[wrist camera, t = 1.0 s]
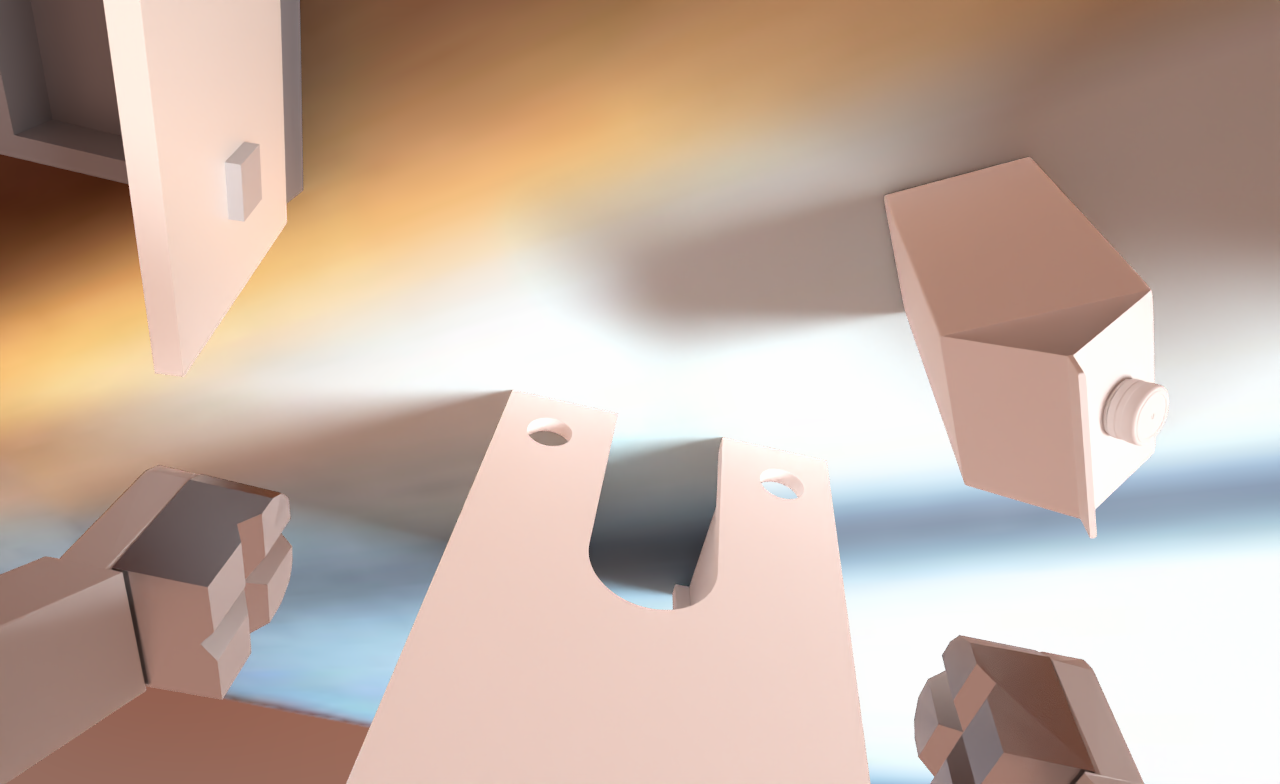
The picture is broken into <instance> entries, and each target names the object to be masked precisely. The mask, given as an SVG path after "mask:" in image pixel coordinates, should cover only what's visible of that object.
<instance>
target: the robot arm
mask: <svg viewBox="0 0 1280 784" xmlns="http://www.w3.org/2000/svg"><path fill="white" fill-rule="evenodd" d="M290 519H291V517H290V507H289V498H288V497H287V496H285V495H284V494H282V493H279V492H275V491H271V490H267V489H262V488H258V487H254V486H250V485H245V484H241V483H237V482H233V481H228V480H224V479H220V478H216V477H211V476H207V475H203V474H200V475H199V474H195V473H190V472H186V471H182V470H178V469H174V468H170V467H165V466H161V465H158V466H156V467H153V468H151V469H148V470H146V471H145V472H144V473H143V474H142V475H141V476H140V477H139V478H138V479H137V480H136V481H135V482H134V483H133V484H132V485H131V486H130V487H129V488H128V489H127V490H126V491H125V492H124V493H123V494H122V495H121V496H120V497H119V498H118V499H117V500H116V501H115V502H114V503H113V504H112V505H111V506H110V507H109V508H108V509H107V511H106V512H105V513H104V514H103V515H102V516H101V517H100V518H99V519H98V520H97V521H96V522H95V523H94V524H93V525H92V526H91V527H90V528H89V529H88V530H87V531H86V532H85V533H84V534H83V535H82V536H81V537H80V538H79V539H78V540H77V541H76V542H75V543H74V544H73V545H72V546H71V547H70V548H69V549H68V550H67V551H66V552H65V554H64V555H63V556H62V557H61V558H60V559H58V558H52V557H47V556H46V557H43V558H41V559H38V560H36V561H33V562H31V563H28V564H26V565H23V566H21V567H18V568H16V569H13V570H11V571H8V572H6V573H3V574H1V575H0V784H6V783H7V782H9V781H11V780H12V779H14V778H15V777H17V776H18V775H19V774H21V773H23V772H24V771H26V770H27V769H29V768H30V767H32V766H33V765H35V764H36V763H38V762H39V761H41V760H42V759H44V758H45V757H47V756H48V755H50V754H51V753H53V752H54V751H56V750H57V749H59V748H60V747H62V746H63V745H65V744H66V743H68V742H69V741H71V740H73V739H74V738H76V737H77V736H79V735H80V734H82V733H83V732H84V731H86V730H87V729H89V728H91V727H92V726H94V725H95V724H97V723H98V722H100V721H101V720H103V719H104V718H106V717H107V716H109V715H110V714H112V713H113V712H115V711H116V710H118V709H119V708H121V707H122V706H124V705H125V704H126V703H128V702H130V701H131V700H133V699H134V698H136V697H137V696H139V695H140V694H142V693H143V692H145V691H146V686H148V687H153V688H159V689H165V690H170V691H176V692H182V693H187V694H193V695H199V696H204V697H210V698H216V699H221V700H222V699H223V697H224V696H225V694H226V693H227V691H228V689H229V688H230V686H231V685H232V683H233V681H234V680H235V678H236V676H237V675H238V673H239V672H240V670H241V668H242V667H243V665H244V664H245V662H246V660H247V659H248V657H249V655H250V654H251V642H250V633H251V632H253V631H255V630H257V629H259V628H260V627H262V626H264V625H266V624H268V623H270V621H271V619H272V618H273V616H274V614H275V613H276V611H277V609H278V607H279V606H280V604H281V602H282V599H283V596H284V594H285V591H286V588H287V585H288V583H289V580H290V574H291V567H292V546H291V544H290V543H289V542H288V541H287V539H286V538H285V537H284V536H283V535H282V533H281V532H282V531H283V529H284V528H285V526H286V525H287V523H288V522H289V520H290ZM942 657H943V661H944V665H945V669H946V671H944V672H942V673H940V674H938V675H936V676H934V677H932V678H930V679H928V680H927V682H926V684H925V686H924V688H923V690H922V692H921V694H920V696H919V697H918V702H917V708H916V713H915V718H914V727H915V741H916V747H917V752H918V757H919V758H920V759H921V761H922V762H923V763H924V764H925V766H926V767H927V768H928V769H929V770H930V772H931V773H932V774H933V775H934V779H933V780H932V782H931V783H930V784H1144V782H1143V780H1142V778H1141V775H1140V773H1139V771H1138V769H1137V767H1136V764H1135V762H1134V760H1133V758H1132V755H1131V753H1130V751H1129V749H1128V747H1127V744H1126V742H1125V740H1124V738H1123V735H1122V733H1121V731H1120V729H1119V727H1118V724H1117V722H1116V720H1115V718H1114V715H1113V713H1112V711H1111V709H1110V707H1109V704H1108V702H1107V700H1106V698H1105V695H1104V693H1103V691H1102V689H1101V687H1100V684H1099V682H1098V680H1097V678H1096V675H1095V673H1094V671H1093V669H1092V668H1091V667H1090V666H1089V665H1088V664H1087V663H1086V662H1085V661H1084V660H1082V659H1077V658H1072V657H1067V656H1061V655H1056V654H1051V653H1046V652H1038V651H1035V650H1031V649H1026V648H1021V647H1016V646H1011V645H1006V644H1001V643H996V642H991V641H986V640H981V639H976V638H971V637H966V636H961V635H959V636H958V637H956V638H955V639H953V640H952V641H950V643H949V645H948V646H947V648H946V650H945V651H944V653H943V655H942Z"/></svg>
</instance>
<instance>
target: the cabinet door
mask: <svg viewBox="0 0 1280 784" xmlns="http://www.w3.org/2000/svg"><path fill="white" fill-rule="evenodd" d="M103 3H104V10H105V17H106V24H107V31H108V39H109V46H110V53H111V60H112V67H113V75H114V82H115V89H116V96H117V103H118V111H119V118H120V125H121V132H122V139H123V147H124V154H125V161H126V168H127V175H128V183H129V190H130V197H131V204H132V211H133V219H134V226H135V233H136V240H137V247H138V255H139V262H140V269H141V276H142V283H143V291H144V298H145V305H146V312H147V319H148V327H149V334H150V341H151V348H152V355H153V363H154V370H155V373H157V374H165V375H173V376H181V377H184V376H185V374H186V373H187V371H188V370H189V368H190V367H191V365H192V364H193V362H194V361H195V359H196V358H197V357H198V355H199V354H200V352H201V351H202V349H203V348H204V346H205V345H206V343H207V342H208V340H209V339H210V337H211V336H212V334H213V333H214V331H215V330H216V328H217V327H218V325H219V324H220V322H221V321H222V319H223V318H224V316H225V315H226V313H227V312H228V310H229V309H230V307H231V306H232V304H233V303H234V301H235V300H236V298H237V297H238V295H239V294H240V292H241V291H242V289H243V288H244V286H245V285H246V283H247V282H248V280H249V279H250V277H251V276H252V274H253V273H254V271H255V270H256V268H257V267H258V265H259V264H260V262H261V261H262V259H263V258H264V256H265V255H266V253H267V252H268V250H269V249H270V247H271V246H272V244H273V243H274V241H275V240H276V238H277V237H278V235H279V234H280V232H281V231H282V229H283V228H284V226H285V225H286V223H287V207H286V174H285V141H284V107H283V74H282V41H281V8H280V0H103Z"/></svg>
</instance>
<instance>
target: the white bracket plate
mask: <svg viewBox="0 0 1280 784" xmlns="http://www.w3.org/2000/svg"><path fill="white" fill-rule="evenodd" d="M617 416H618V413H614V412H610V411H605V410H601V409H596V408H592V407H587V406H583V405H578V404H574V403H570V402H565V401H561V400H556V399H552V398H547V397H543V396H538V395H534V394H530V393H525V392H521V391H516V390H512V393H511V395H510V397H509V400H508V402H507V404H506V407H505V409H504V412H503V414H502V416H501V419H500V421H499V423H498V426H497V428H496V430H495V433H494V435H493V438H492V440H491V442H490V445H489V447H488V449H487V452H486V454H485V456H484V459H483V461H482V464H481V466H480V468H479V471H478V473H477V475H476V478H475V480H474V482H473V485H472V487H471V490H470V492H469V494H468V497H467V499H466V501H465V504H464V506H463V509H462V511H461V513H460V516H459V518H458V520H457V523H456V525H455V527H454V530H453V532H452V535H451V537H450V539H449V542H448V544H447V546H446V549H445V551H444V553H443V556H442V558H441V561H440V563H439V565H438V568H437V570H436V572H435V575H434V577H433V579H432V582H431V584H430V587H429V589H428V591H427V594H426V596H425V598H424V601H423V603H422V606H421V608H420V610H419V613H418V615H417V617H416V620H415V622H414V624H413V627H412V629H411V632H410V634H409V636H408V639H407V641H406V643H405V646H404V648H403V650H402V653H401V655H400V658H399V660H398V662H397V665H396V667H395V669H394V672H393V674H392V676H391V679H390V681H389V684H388V686H387V688H386V691H385V693H384V695H383V698H382V700H381V703H380V705H379V707H378V710H377V712H376V714H375V717H374V719H373V721H372V724H371V726H370V729H369V731H368V733H367V736H366V738H365V741H364V743H363V745H362V748H361V750H360V752H359V755H358V757H357V759H356V762H355V764H354V767H353V769H352V771H351V773H350V776H349V778H348V781H347V783H346V784H870V777H869V770H868V762H867V755H866V748H865V740H864V733H863V725H862V718H861V711H860V703H859V696H858V688H857V681H856V674H855V666H854V659H853V651H852V644H851V637H850V629H849V622H848V614H847V607H846V600H845V592H844V585H843V578H842V570H841V563H840V555H839V548H838V541H837V533H836V526H835V518H834V511H833V504H832V496H831V489H830V481H829V474H828V467H827V460H823V459H818V458H814V457H809V456H805V455H801V454H796V453H792V452H787V451H783V450H778V449H774V448H769V447H765V446H761V445H756V444H752V443H747V442H743V441H738V440H734V439H729V438H725V437H722V441H721V444H720V447H719V453H718V478H717V502H716V509H715V512H714V514H713V517H712V520H711V523H710V526H709V529H708V532H707V535H706V538H705V541H704V544H703V547H702V550H701V553H700V556H699V559H698V562H697V565H696V568H695V571H694V574H693V577H692V580H691V583H690V586H689V587H688V586H683V585H678V584H675V587H674V590H673V593H672V595H673V610H657V609H650V608H646V607H642V606H639V605H636V604H633V603H631V602H628V601H626V600H624V599H623V598H621V597H619V596H617V595H616V594H614V593H613V592H612V591H611V590H609V589H608V588H607V587H606V586H605V585H604V584H603V583H602V582H601V581H600V579H599V578H598V577H597V575H596V574H595V572H594V570H593V568H592V566H591V563H590V559H589V543H590V538H591V534H592V529H593V525H594V520H595V516H596V511H597V507H598V502H599V497H600V493H601V488H602V484H603V479H604V475H605V470H606V466H607V461H608V457H609V452H610V447H611V443H612V438H613V434H614V429H615V425H616V420H617ZM539 431H550V432H554V433H557V434H559V435H561V436H563V437H564V438H565V439H566V440H567V441H568V442H567V443H566V444H563V445H559V446H547V445H543V444H540V443H538V442H536V441H534V440H533V439H532V438H531V437H530V436H529V435H530V434H532V433H534V432H539ZM769 481H772V482H777V483H781V484H783V485H785V486H787V487H789V488H790V489H792V490H793V491H794V492H795V494H796V495H797V497H798V498H795V499H784V498H780V497H777V496H775V495H773V494H771V493H770V492H768V491H767V490H766V489H765V488H764V487H763V485H762V484H761V483H763V482H769Z"/></svg>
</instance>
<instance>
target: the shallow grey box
mask: <svg viewBox="0 0 1280 784" xmlns="http://www.w3.org/2000/svg"><path fill="white" fill-rule="evenodd" d="M280 8H281V41H282V74H283V107H284V141H285V174H286V204H287V203H288V202H289V201H290V200H292V199H293V198H294V197H295V196H297V195H298V194H299V193H301V192H302V191H303V148H302V92H301V37H300V0H280ZM0 154H2V155H6V156H10V157H15V158H19V159H23V160H27V161H32V162H36V163H40V164H44V165H49V166H53V167H57V168H61V169H66V170H70V171H74V172H78V173H83V174H87V175H91V176H95V177H100V178H104V179H108V180H113V181H117V182H121V183H125V184H129V183H128V175H127V168H126V161H125V154H124V147H123V139H122V132H121V125H120V118H119V111H118V103H117V96H116V89H115V82H114V75H113V67H112V60H111V53H110V46H109V39H108V31H107V24H106V17H105V10H104V3H103V0H0Z"/></svg>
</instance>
